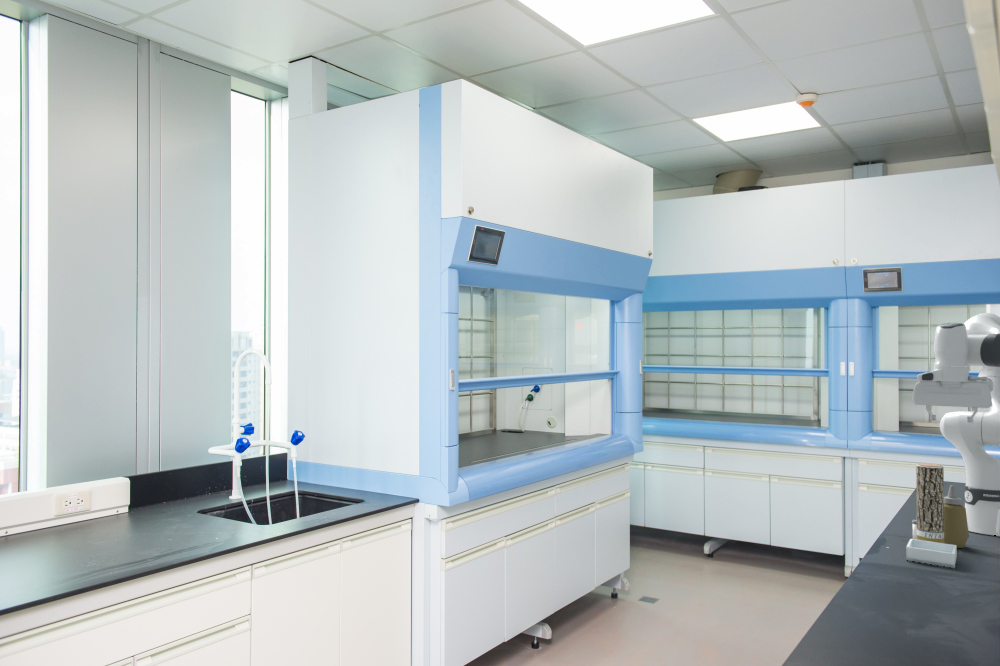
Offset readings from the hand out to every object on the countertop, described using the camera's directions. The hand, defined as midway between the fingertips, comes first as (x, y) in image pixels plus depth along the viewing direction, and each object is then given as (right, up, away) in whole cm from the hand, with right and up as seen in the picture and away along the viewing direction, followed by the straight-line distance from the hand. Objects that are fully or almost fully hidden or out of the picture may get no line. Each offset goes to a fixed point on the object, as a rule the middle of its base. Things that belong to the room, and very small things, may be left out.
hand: (951, 421), depth 208 cm
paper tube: (-10, -37, -7) cm, 39 cm away
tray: (-16, -37, -16) cm, 43 cm away
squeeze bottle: (0, -38, -1) cm, 38 cm away
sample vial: (-7, -37, +5) cm, 38 cm away
